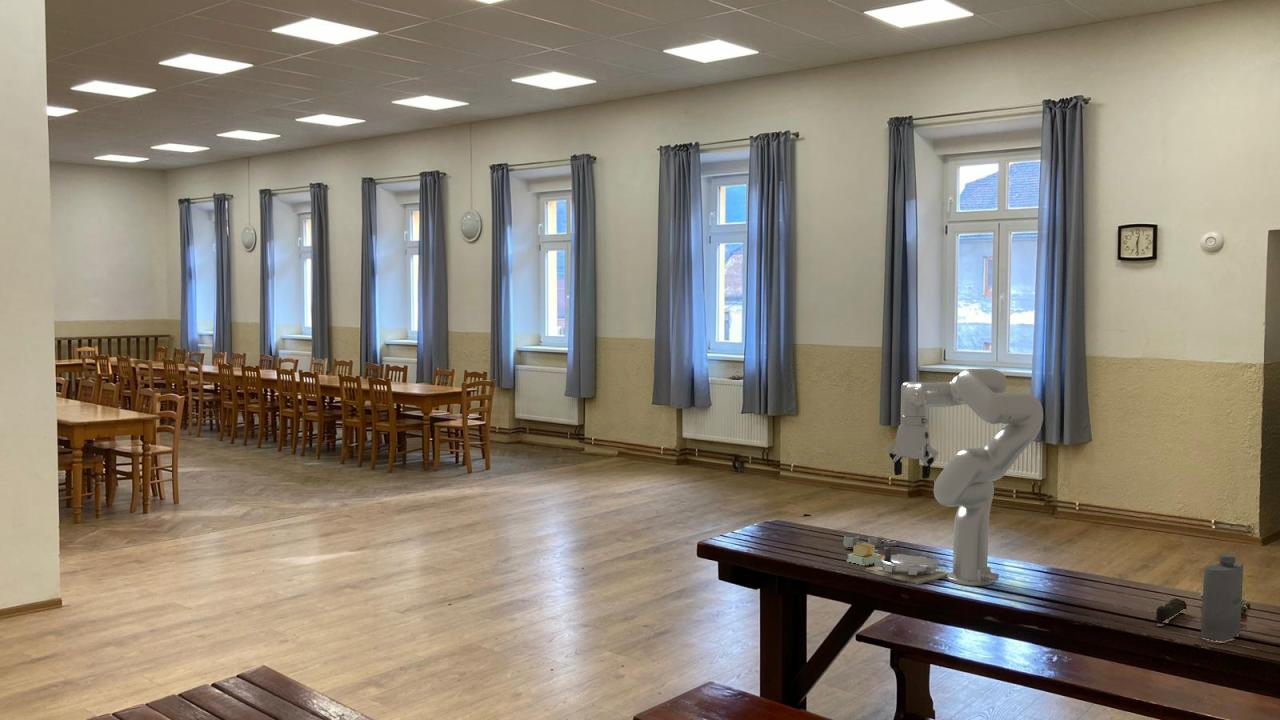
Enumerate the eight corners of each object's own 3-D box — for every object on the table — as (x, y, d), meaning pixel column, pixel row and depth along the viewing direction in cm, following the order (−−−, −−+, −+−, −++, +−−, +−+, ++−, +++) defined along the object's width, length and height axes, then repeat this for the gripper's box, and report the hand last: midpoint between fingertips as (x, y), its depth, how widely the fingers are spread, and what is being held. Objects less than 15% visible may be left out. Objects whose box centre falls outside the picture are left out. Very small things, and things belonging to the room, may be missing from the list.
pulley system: (828, 555, 339) (874, 559, 332) (828, 540, 340) (874, 544, 332) (857, 543, 363) (900, 546, 355) (857, 530, 363) (900, 532, 355)
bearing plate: (948, 575, 312) (949, 570, 312) (917, 584, 301) (918, 578, 301) (897, 564, 325) (897, 559, 325) (865, 571, 315) (865, 566, 315)
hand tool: (1170, 611, 279) (1170, 594, 279) (1186, 614, 277) (1187, 597, 276) (1145, 626, 266) (1146, 608, 265) (1162, 629, 263) (1163, 611, 263)
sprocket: (921, 559, 324) (921, 540, 323) (949, 574, 306) (950, 553, 305) (864, 560, 320) (865, 541, 320) (890, 575, 302) (891, 554, 302)
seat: (881, 561, 328) (881, 554, 328) (863, 565, 322) (864, 558, 322) (864, 558, 333) (864, 550, 333) (846, 561, 327) (846, 554, 327)
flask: (1223, 646, 250) (1227, 562, 249) (1197, 640, 254) (1201, 557, 253) (1246, 634, 260) (1250, 553, 259) (1220, 628, 264) (1224, 549, 263)
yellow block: (874, 559, 328) (875, 544, 328) (862, 561, 324) (863, 547, 324) (864, 557, 331) (865, 542, 330) (852, 559, 327) (853, 544, 326)
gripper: (944, 423, 326) (943, 478, 326) (895, 419, 338) (894, 472, 338) (931, 424, 320) (930, 480, 321) (882, 420, 333) (881, 474, 333)
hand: (911, 476), depth 330 cm, fingers open, 9 cm apart
